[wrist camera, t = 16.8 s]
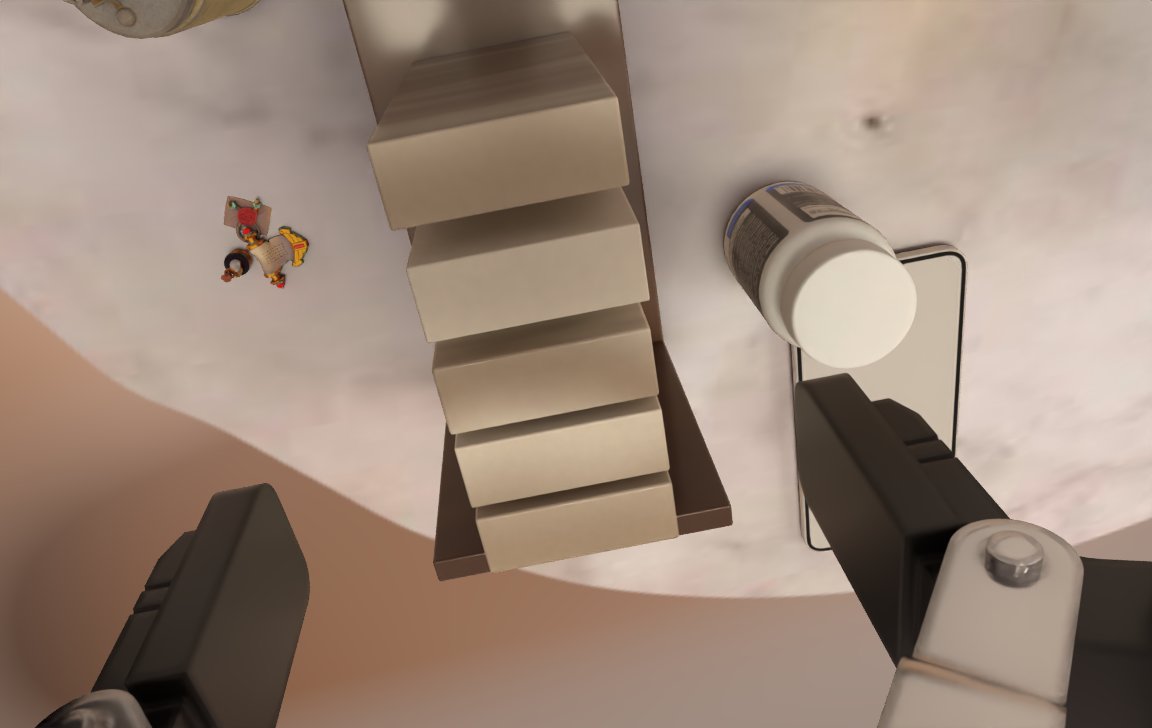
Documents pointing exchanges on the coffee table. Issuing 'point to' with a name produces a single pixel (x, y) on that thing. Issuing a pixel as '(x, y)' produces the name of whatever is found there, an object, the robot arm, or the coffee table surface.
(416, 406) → the coffee table surface
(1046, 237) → the coffee table surface
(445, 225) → the beige box
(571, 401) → the wooden book rack
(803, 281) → the pill bottle
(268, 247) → the diorama
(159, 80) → the coffee table surface
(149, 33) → the lighter
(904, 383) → the smartphone
